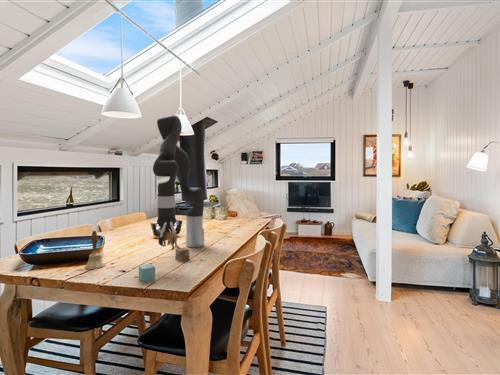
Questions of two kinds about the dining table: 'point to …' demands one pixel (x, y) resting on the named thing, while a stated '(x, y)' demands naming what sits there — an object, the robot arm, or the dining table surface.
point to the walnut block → (182, 254)
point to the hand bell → (94, 255)
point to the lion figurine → (169, 238)
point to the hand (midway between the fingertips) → (167, 244)
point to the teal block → (146, 272)
